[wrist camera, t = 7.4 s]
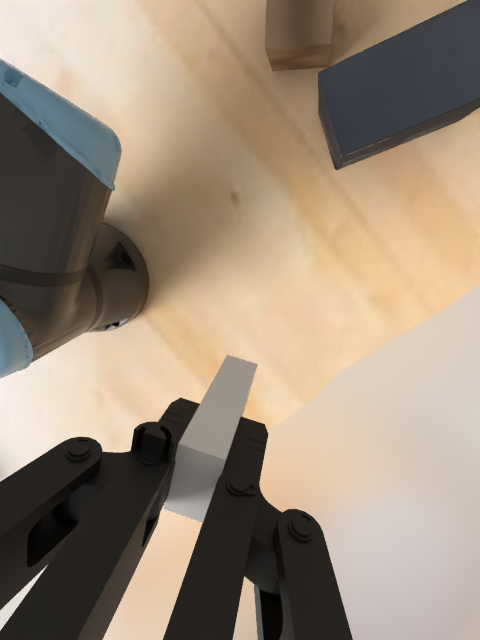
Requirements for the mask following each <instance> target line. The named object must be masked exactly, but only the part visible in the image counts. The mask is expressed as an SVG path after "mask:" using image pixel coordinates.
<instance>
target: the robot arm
mask: <svg viewBox="0 0 480 640" xmlns="http://www.w3.org/2000/svg"><path fill="white" fill-rule="evenodd" d="M120 158H121V144H120V141H119V139H118V137H117V135H116V134H115V132H114V131H113V130H112V129H111V128H109V127H108V126H107V125H105V124H104V123H102V122H101V121H99V120H98V119H96V118H94V117H93V116H91V115H90V114H88V113H87V112H85V111H84V110H82V109H80V108H79V107H77V106H76V105H74V104H73V103H71V102H69V101H68V100H66V99H65V98H63V97H61V96H60V95H58V94H57V93H55V92H54V91H52V90H50V89H49V88H47V87H46V86H44V85H43V84H41V83H39V82H38V81H36V80H35V79H33V78H31V77H30V76H28V75H27V74H25V73H23V72H22V71H20V70H19V69H17V68H15V67H14V66H12V65H11V64H9V63H7V62H6V61H4V60H2V59H1V58H0V378H3V377H5V376H7V375H9V374H11V373H14V372H16V371H20V370H23V369H25V368H27V367H28V366H29V365H30V363H32V362H34V361H36V360H37V359H39V358H41V357H43V356H44V355H46V354H48V353H50V352H51V351H53V350H55V349H57V348H58V347H60V346H62V345H64V344H65V343H67V342H69V341H71V340H72V339H74V338H76V337H78V336H79V335H81V334H83V333H85V332H100V331H109V330H113V329H116V328H119V327H121V326H123V325H124V324H126V323H127V322H129V321H130V320H132V319H133V318H134V317H136V316H137V315H138V313H139V312H140V311H141V309H142V308H143V306H144V304H145V301H146V299H147V295H148V288H149V279H148V272H147V268H146V265H145V262H144V260H143V257H142V255H141V253H140V252H139V250H138V249H137V247H136V246H135V245H134V243H133V242H132V241H131V240H130V239H129V238H128V237H127V236H126V235H125V234H123V233H122V232H120V231H119V230H117V229H116V228H114V227H111V226H109V225H106V224H103V223H102V220H103V217H104V214H105V211H106V208H107V205H108V202H109V199H110V196H111V193H112V191H114V189H115V185H114V180H115V177H116V173H117V169H118V165H119V161H120ZM256 368H257V364H255V363H252V362H249V361H245V360H242V359H239V358H236V357H233V356H229V355H227V356H226V358H225V360H224V362H223V363H222V365H221V367H220V369H219V371H218V372H217V374H216V376H215V378H214V380H213V382H212V383H211V385H210V387H209V389H208V391H207V392H206V394H205V396H204V398H203V400H202V402H201V403H200V404H198V403H195V402H192V401H189V400H186V399H183V398H179V399H178V400H176V401H174V402H172V403H171V404H170V405H169V407H168V408H167V410H166V411H165V413H164V414H163V415H162V417H161V419H160V420H159V421H158V422H146V423H143V424H140V425H139V426H137V427H136V428H135V429H134V434H133V440H132V447H131V451H129V452H124V453H113V452H102V447H101V445H100V444H99V443H98V442H97V441H96V440H94V439H91V438H89V437H75V438H70V439H68V440H66V441H64V442H62V443H60V444H59V445H57V446H56V447H54V448H52V449H51V450H49V451H48V452H46V453H45V454H43V455H42V456H40V457H38V458H37V459H35V460H34V461H32V462H31V463H29V464H27V465H26V466H24V467H23V468H21V469H20V470H18V471H16V472H15V473H13V474H12V475H10V476H9V477H7V478H5V479H4V480H2V481H1V482H0V610H1V609H2V608H3V607H4V606H5V605H6V604H7V603H8V602H9V601H10V600H11V599H12V598H13V597H14V596H15V595H16V594H17V593H18V592H20V591H21V590H22V589H23V588H24V587H25V586H26V585H27V584H28V583H29V582H30V581H31V580H32V579H33V578H34V577H35V576H36V575H37V574H38V573H39V572H40V571H41V570H43V568H45V566H47V565H48V566H47V567H46V569H45V570H44V571H43V573H42V574H41V575H40V577H39V578H38V580H37V581H36V582H35V584H34V585H33V587H32V588H31V589H30V591H29V592H28V593H27V595H26V596H25V598H24V599H23V600H22V602H21V603H20V604H19V606H18V607H17V609H16V610H15V612H14V613H13V614H12V616H11V617H10V618H9V620H8V621H7V623H6V624H5V625H4V627H3V628H2V629H1V631H0V640H102V639H103V637H104V635H105V633H106V631H107V629H108V627H109V624H110V622H111V620H112V618H113V616H114V614H115V612H116V610H117V608H118V605H119V603H120V601H121V599H122V597H123V595H124V593H125V591H126V589H127V587H128V585H129V582H130V580H131V578H132V576H133V574H134V572H135V570H136V568H137V566H138V563H139V561H140V559H141V557H142V555H143V553H144V551H145V549H146V547H147V544H148V542H149V540H150V538H151V536H152V534H153V532H154V530H155V528H156V526H157V523H158V519H159V515H160V511H161V509H162V507H163V505H164V503H165V506H164V509H166V510H169V511H172V512H175V513H177V514H180V515H183V516H186V517H188V518H191V519H194V520H197V521H200V522H202V523H203V524H202V527H201V530H200V533H199V536H198V539H197V541H196V544H195V547H194V550H193V553H192V556H191V559H190V562H189V565H188V568H187V571H186V574H185V577H184V580H183V582H182V585H181V588H180V591H179V594H178V597H177V600H176V603H175V606H174V609H173V612H172V615H171V618H170V620H169V624H168V627H167V630H166V633H165V635H164V638H163V640H232V639H233V634H234V628H235V623H236V618H237V612H238V607H239V601H240V596H241V590H242V585H243V579H244V576H245V577H246V578H247V579H249V580H250V581H251V582H253V583H254V584H255V585H254V591H255V604H256V605H255V606H256V620H257V633H258V640H353V639H352V635H351V632H350V628H349V625H348V621H347V617H346V614H345V610H344V606H343V603H342V599H341V596H340V592H339V588H338V585H337V581H336V578H335V574H334V570H333V567H332V563H331V560H330V556H329V552H328V549H327V545H326V542H325V538H324V534H323V531H322V530H321V527H320V525H319V524H318V522H317V521H316V520H315V519H314V518H313V517H312V516H310V515H309V514H307V513H306V512H304V511H301V510H297V509H288V510H286V511H284V512H283V513H282V512H280V511H279V510H277V509H276V508H275V507H273V506H272V505H271V504H270V503H268V502H267V500H265V498H264V497H263V495H262V493H261V491H260V487H259V481H260V476H261V470H262V465H263V460H264V454H265V449H266V443H267V438H268V432H267V429H266V427H265V424H262V423H259V422H256V421H253V420H250V419H247V418H244V417H242V415H243V412H244V408H245V405H246V402H247V398H248V395H249V391H250V388H251V385H252V381H253V378H254V374H255V371H256ZM165 501H166V502H165Z"/></svg>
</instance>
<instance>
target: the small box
mask: <svg viewBox="0 0 480 640" xmlns="http://www.w3.org/2000/svg"><path fill="white" fill-rule="evenodd" d="M318 89H319V111H318V113H319V117H320V119H321V123H322V127H323V130H324V133H325V137H326V141H327V144H328V147H329V151H330V154H331V158H332V161H333V164H334V168H335V170H338V169H340V168H343V167H345V166H348V165H350V164H353V163H356V162H358V161H360V160H363V159H366V158H368V157H370V156H373V155H376V154H378V153H380V152H383V151H385V150H388V149H390V148H393V147H395V146H398V145H400V144H403V143H405V142H408V141H410V140H413V139H415V138H418V137H420V136H423V135H425V134H428V133H430V132H433V131H435V130H438V129H440V128H443V127H445V126H448V125H450V124H453V123H455V122H457V121H459V120H461V119H463V118H464V117H466V116H467V115H469V114H470V113H471V112H473V111H474V110H476V109H477V108H479V107H480V0H467V1H465V2H463V3H461V4H459V5H457V6H455V7H453V8H451V9H449V10H447V11H445V12H443V13H441V14H438V15H436V16H434V17H432V18H430V19H428V20H426V21H424V22H422V23H420V24H418V25H416V26H414V27H412V28H410V29H408V30H405V31H403V32H401V33H399V34H397V35H395V36H393V37H391V38H389V39H387V40H385V41H382V42H380V43H378V44H376V45H374V46H372V47H370V48H368V49H366V50H364V51H362V52H359V53H357V54H355V55H353V56H351V57H349V58H347V59H345V60H343V61H341V62H339V63H337V64H335V65H332V66H330V67H328V68H327V69H325V70H322V71H320V72H319V74H318Z"/></svg>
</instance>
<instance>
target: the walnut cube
mask: <svg viewBox="0 0 480 640" xmlns="http://www.w3.org/2000/svg"><path fill="white" fill-rule="evenodd" d="M334 2H335V0H267V10H266V48H265V49H266V52H267V55H268V58H269V61H270V64H271V68H272V71H276V70H293V69H309V68H326V67H329V61H330V51H331V41H332V28H333V15H334Z"/></svg>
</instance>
